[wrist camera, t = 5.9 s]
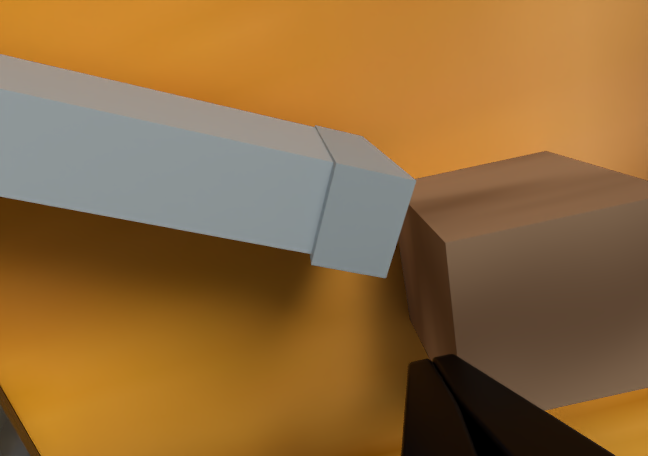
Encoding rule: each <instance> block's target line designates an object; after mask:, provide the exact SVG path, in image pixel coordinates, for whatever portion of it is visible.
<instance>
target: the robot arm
mask: <svg viewBox="0 0 648 456" xmlns="http://www.w3.org/2000/svg"><path fill="white" fill-rule="evenodd" d="M401 456H615V455H614V454H612V453H611V452H609V451H607V450H606V449H604V448H603V447H601V446H599V445H598V444H596V443H595V442H593V441H592V440H590V439H588V438H587V437H585V436H584V435H582V434H580V433H579V432H577V431H576V430H574V429H572V428H571V427H569V426H568V425H566V424H565V423H563V422H561V421H560V420H558V419H557V418H555V417H553V416H552V415H550V414H549V413H547V412H545V411H544V410H542V409H541V408H539V407H538V406H536V405H534V404H533V403H531V402H530V401H528V400H526V399H525V398H523V397H522V396H520V395H518V394H517V393H515V392H514V391H512V390H511V389H509V388H507V387H506V386H504V385H503V384H501V383H499V382H498V381H496V380H495V379H493V378H491V377H490V376H488V375H487V374H485V373H484V372H482V371H480V370H479V369H477V368H476V367H474V366H472V365H471V364H469V363H468V362H466V361H465V360H463V359H461V358H460V357H458V356H457V355H454V354H447V355H442V356H438V357H434V358H433V359H432V360H429V359H424V360H419V361H414V362H411V363H409V365H408V373H407V386H406V399H405V412H404V425H403V437H402V450H401Z"/></svg>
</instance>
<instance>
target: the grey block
mask: <svg viewBox="0 0 648 456" xmlns="http://www.w3.org/2000/svg"><path fill="white" fill-rule="evenodd" d="M415 184H416V180H415V179H414V178H413V177H411V176H410V175H409V174H408V173H406V172H405V171H404V170H403V169H402V168H400V167H399V166H398V165H397V164H395V163H394V162H393V161H392V160H391V159H389V158H388V157H387V156H386V155H385V154H383V153H382V152H381V151H380V150H378V149H377V148H376V147H375V146H374V145H372V144H371V143H370V142H369V141H368V140H366V139H365V138H364V137H363V136H359V135H355V134H351V133H346V132H342V131H338V130H334V129H329V128H325V127H321V126H316V125H315V127H311V126H307V125H303V124H299V123H294V122H290V121H286V120H281V119H277V118H273V117H268V116H264V115H260V114H256V113H251V112H247V111H243V110H238V109H234V108H230V107H225V106H221V105H217V104H213V103H208V102H204V101H200V100H195V99H191V98H187V97H182V96H178V95H174V94H170V93H165V92H161V91H157V90H152V89H148V88H144V87H140V86H135V85H131V84H127V83H122V82H118V81H114V80H109V79H105V78H101V77H97V76H92V75H88V74H84V73H79V72H75V71H71V70H66V69H62V68H58V67H54V66H49V65H45V64H41V63H36V62H32V61H28V60H23V59H19V58H15V57H11V56H6V55H2V54H0V197H5V198H11V199H16V200H22V201H27V202H32V203H38V204H43V205H49V206H54V207H59V208H65V209H70V210H76V211H81V212H86V213H92V214H97V215H103V216H108V217H113V218H119V219H124V220H130V221H135V222H140V223H146V224H151V225H157V226H162V227H167V228H173V229H178V230H184V231H189V232H194V233H200V234H205V235H211V236H216V237H221V238H227V239H232V240H238V241H243V242H248V243H254V244H259V245H265V246H270V247H275V248H281V249H286V250H292V251H297V252H302V253H308V254H310V259H311V265H315V266H320V267H326V268H331V269H337V270H342V271H348V272H353V273H359V274H364V275H370V276H375V277H381V278H386V277H387V273H388V270H389V267H390V264H391V261H392V257H393V254H394V251H395V248H396V245H397V241H398V238H399V235H400V232H401V228H402V225H403V222H404V219H405V216H406V212H407V209H408V206H409V203H410V200H411V196H412V193H413V190H414V187H415Z"/></svg>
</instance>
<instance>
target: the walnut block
mask: <svg viewBox="0 0 648 456" xmlns="http://www.w3.org/2000/svg"><path fill="white" fill-rule="evenodd" d="M415 180H416V184H415V187H414V190H413V193H412V196H411V200H410V203H409V206H408V209H407V212H406V216H405V219H404V222H403V225H402V228H401V232H400V235H399V238H398V242H399V249H400V256H401V263H402V269H403V276H404V283H405V290H406V297H407V303H408V310H409V317H410V321H411V323H412V325H413V327H414V329H415V331H416V333H417V335H418V337H419V339H420V341H421V343H422V345H423V347H424V348H425V350H426V352H427V354H428V356H429V358H430V360H432V359H433V358H434V357H438V356H442V355H447V354H454V355H457V356H458V357H460V358H461V359H463V360H465V361H466V362H468V363H469V364H471V365H472V366H474V367H476V368H477V369H479V370H480V371H482V372H484V373H485V374H487V375H488V376H490V377H491V378H493V379H495V380H496V381H498V382H499V383H501V384H503V385H504V386H506V387H507V388H509V389H511V390H512V391H514V392H515V393H517V394H518V395H520V396H522V397H523V398H525V399H526V400H528V401H530V402H531V403H533V404H534V405H536V406H538V407H539V408H541V409H542V410H549V409H553V408H558V407H562V406H567V405H571V404H576V403H580V402H585V401H589V400H594V399H598V398H603V397H607V396H612V395H616V394H621V393H625V392H630V391H634V390H639V389H643V388H648V181H647V180H644V179H640V178H637V177H633V176H630V175H626V174H623V173H620V172H616V171H613V170H609V169H606V168H603V167H599V166H596V165H592V164H589V163H585V162H582V161H579V160H575V159H572V158H568V157H565V156H562V155H558V154H555V153H551V152H548V151H544V152H539V153H534V154H530V155H525V156H520V157H516V158H511V159H506V160H502V161H497V162H493V163H488V164H483V165H479V166H474V167H469V168H465V169H460V170H455V171H451V172H446V173H441V174H437V175H432V176H427V177H423V178H418V179H415Z"/></svg>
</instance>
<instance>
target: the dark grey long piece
mask: <svg viewBox="0 0 648 456" xmlns="http://www.w3.org/2000/svg"><path fill="white" fill-rule="evenodd" d="M0 456H40V455H39V453H38V451H37V450H36V448H35V446H34V444H33V443H32V441H31V439H30V438H29V436H28V434H27V432H26V431H25V429H24V427H23V425H22V424H21V422H20V420H19V418H18V417H17V415H16V413H15V412H14V410H13V408H12V406H11V405H10V403H9V401H8V399H7V398H6V396H5V394H4V392H3V391H2V389H1V387H0Z"/></svg>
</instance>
